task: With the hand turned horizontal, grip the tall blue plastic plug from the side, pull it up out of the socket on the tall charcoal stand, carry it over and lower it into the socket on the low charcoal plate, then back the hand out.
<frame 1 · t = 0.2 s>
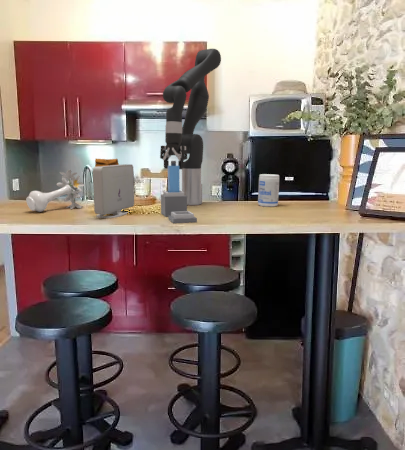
hand: (173, 169, 195), 18 cm above the worktop, tool pointing down, fingers open, 8 cm apart
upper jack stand: (173, 214, 178), on the worktop
blue plug: (173, 195, 176), point 8 cm above the worktop, touching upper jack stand
supplement tub: (268, 206, 205), on the worktop
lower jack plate: (182, 220, 163), on the worktop
network device: (115, 214, 178), on the worktop
coffee package: (109, 206, 202), on the worktop
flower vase: (58, 210, 190), on the worktop
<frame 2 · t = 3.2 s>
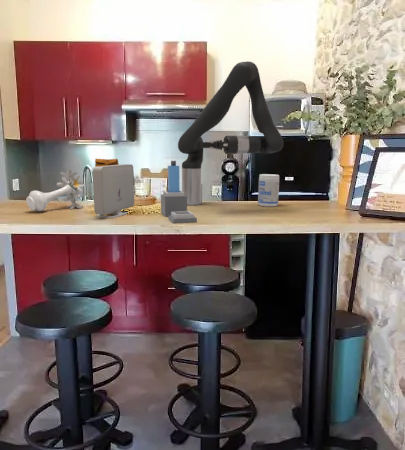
hand: (198, 145, 175), 28 cm above the worktop, tool horizontal, fingers open, 8 cm apart
nothing on the worktop moved.
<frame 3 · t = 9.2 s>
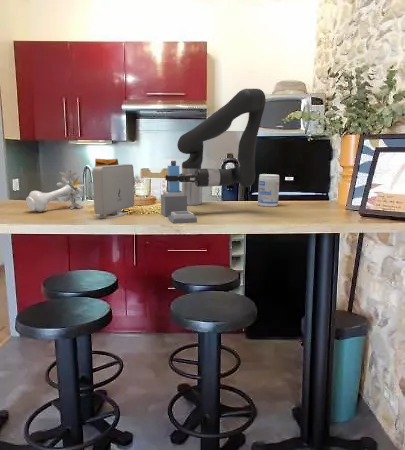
hand: (166, 178, 174), 15 cm above the worktop, tool horizontal, fingers closed on blue plug, 4 cm apart
blue plug: (173, 195, 176), point 8 cm above the worktop, touching gripper, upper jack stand
everything else where it was.
when the fingers open (9 cm above the worktop, at t = 17.1 s): blue plug stays where it is, resting on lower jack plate.
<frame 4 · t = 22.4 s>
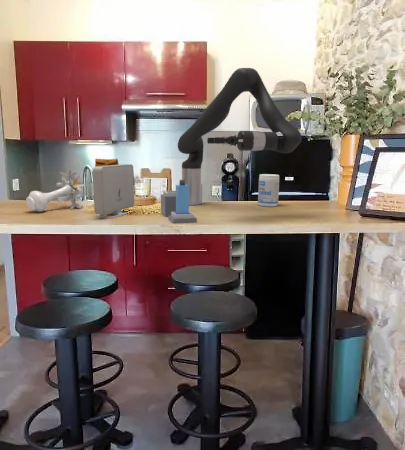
hand: (210, 140, 161), 30 cm above the worktop, tool horizontal, fingers open, 8 cm apart
blue plug: (182, 216, 163), point 1 cm above the worktop, touching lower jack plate
everything else where it was.
at the end: blue plug 0.0 cm off-centre on the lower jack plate, point 1.5 cm above the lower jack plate's base; blue plug tilted 0°; the gripper is holding nothing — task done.
